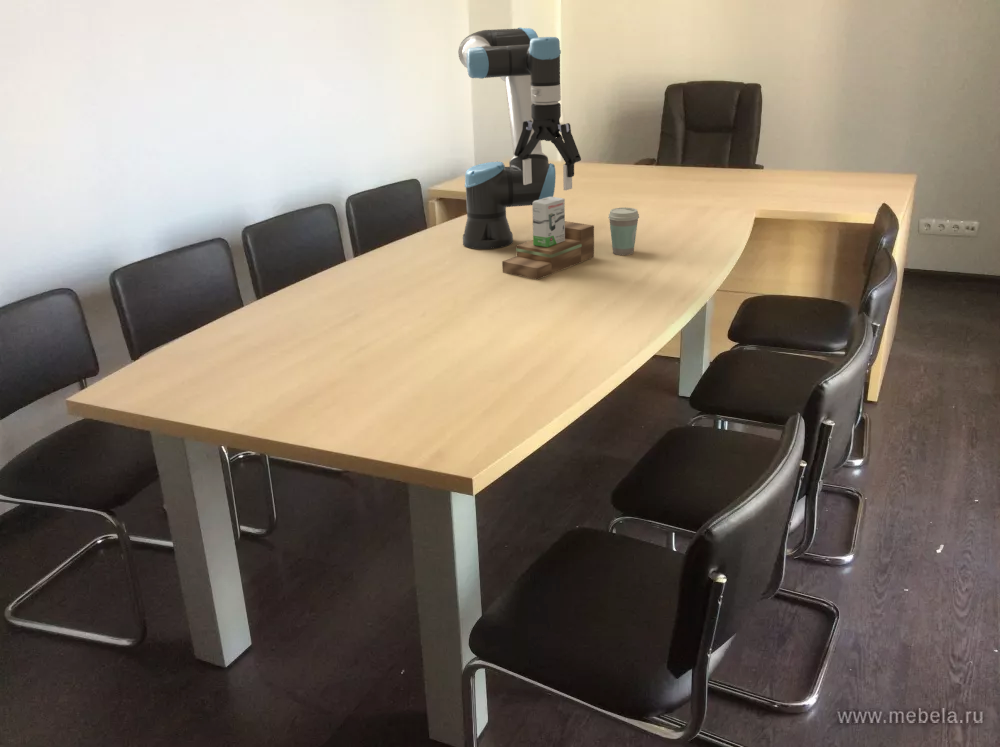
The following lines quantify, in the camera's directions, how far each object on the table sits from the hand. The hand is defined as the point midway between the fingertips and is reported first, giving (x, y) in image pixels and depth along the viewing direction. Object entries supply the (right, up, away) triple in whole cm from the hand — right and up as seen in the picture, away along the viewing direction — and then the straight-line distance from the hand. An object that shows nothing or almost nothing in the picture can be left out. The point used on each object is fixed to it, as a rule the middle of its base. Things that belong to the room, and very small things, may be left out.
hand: (547, 186), depth 222 cm
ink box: (+1, -14, +6) cm, 15 cm away
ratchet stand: (+1, -19, +8) cm, 21 cm away
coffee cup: (+22, -15, +16) cm, 32 cm away
